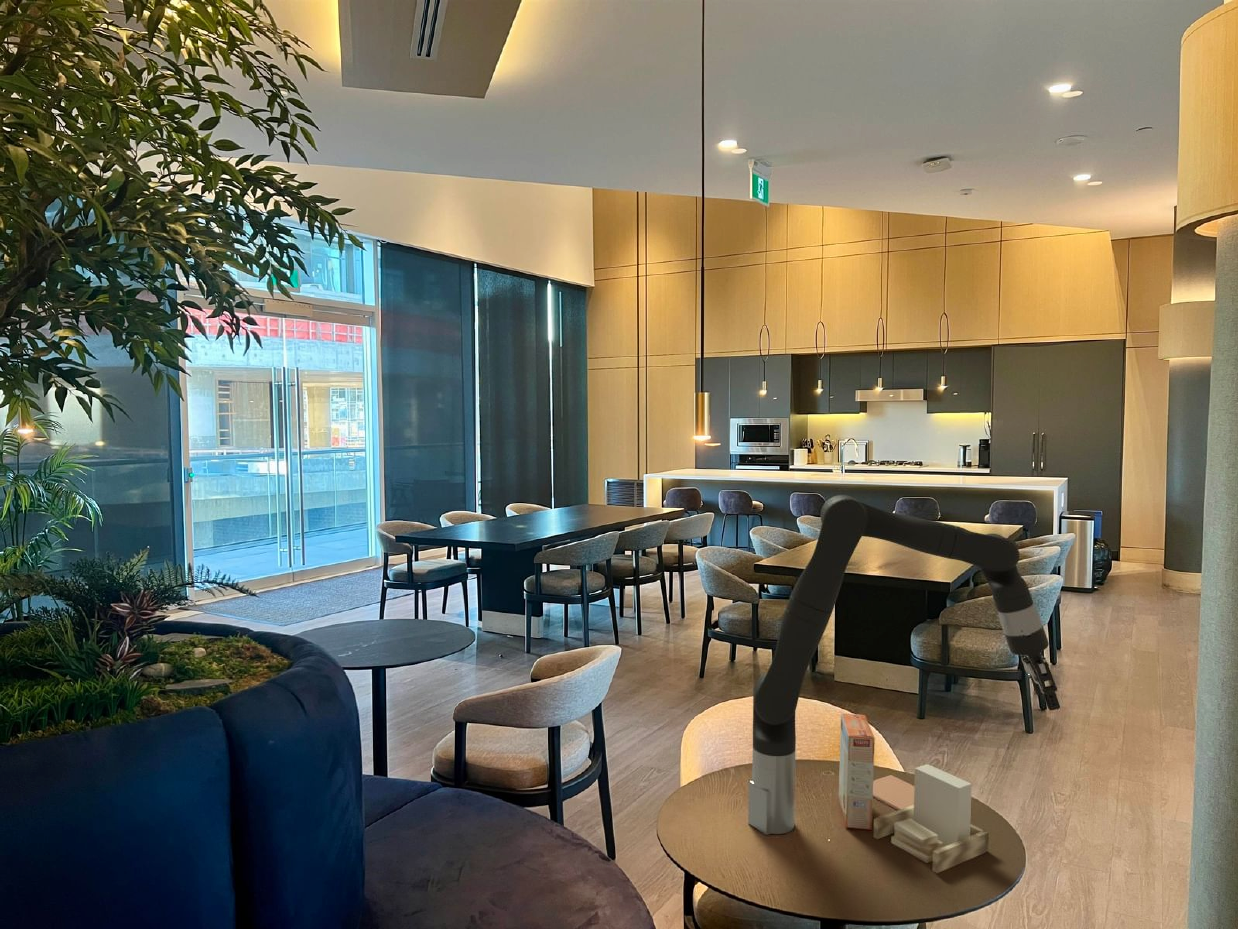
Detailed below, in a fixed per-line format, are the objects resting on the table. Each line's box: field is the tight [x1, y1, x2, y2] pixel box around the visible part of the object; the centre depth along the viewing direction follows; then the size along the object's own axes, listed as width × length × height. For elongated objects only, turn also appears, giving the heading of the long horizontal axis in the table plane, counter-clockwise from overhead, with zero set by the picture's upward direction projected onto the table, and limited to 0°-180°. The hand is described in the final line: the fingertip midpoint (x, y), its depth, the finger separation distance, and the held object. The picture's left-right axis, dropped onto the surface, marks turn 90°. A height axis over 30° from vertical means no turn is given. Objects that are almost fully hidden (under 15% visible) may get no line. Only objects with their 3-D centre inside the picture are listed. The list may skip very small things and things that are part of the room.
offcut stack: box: [890, 819, 943, 864], centre depth 169 cm, size 5×9×4 cm, turn 30°
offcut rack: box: [873, 805, 989, 874], centre depth 171 cm, size 16×16×4 cm
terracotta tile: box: [873, 774, 914, 811], centre depth 193 cm, size 12×16×1 cm
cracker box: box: [838, 713, 876, 831], centre depth 183 cm, size 14×6×21 cm, turn 171°
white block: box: [913, 763, 972, 847], centre depth 172 cm, size 4×11×14 cm, turn 31°
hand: (1048, 701), depth 168 cm, fingers open, 8 cm apart
